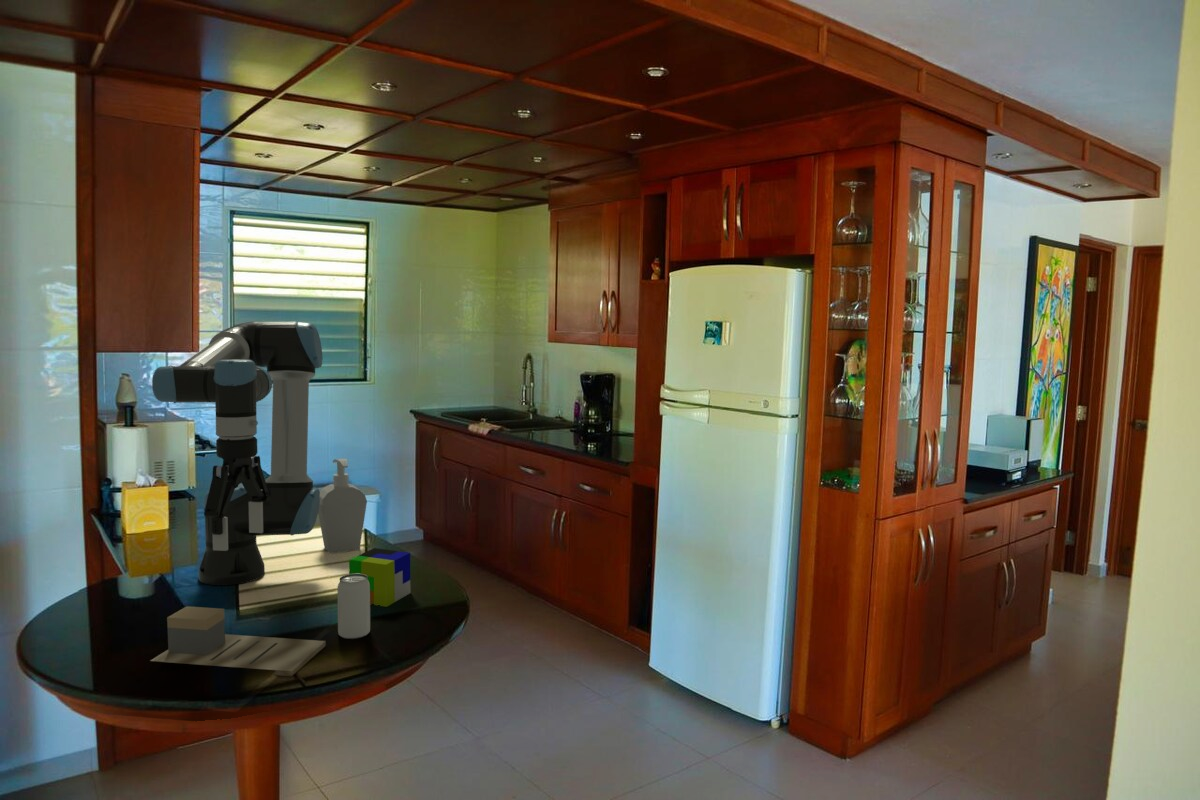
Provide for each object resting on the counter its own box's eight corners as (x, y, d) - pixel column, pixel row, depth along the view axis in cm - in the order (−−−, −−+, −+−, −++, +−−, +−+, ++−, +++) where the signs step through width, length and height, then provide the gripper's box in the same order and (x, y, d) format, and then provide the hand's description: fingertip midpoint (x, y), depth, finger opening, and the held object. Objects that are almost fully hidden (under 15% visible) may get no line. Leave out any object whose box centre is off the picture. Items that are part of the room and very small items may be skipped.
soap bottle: (323, 556, 222) (322, 463, 220) (316, 547, 231) (314, 457, 228) (369, 551, 228) (368, 460, 226) (360, 542, 237) (359, 454, 234)
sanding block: (168, 652, 157) (167, 617, 156) (187, 640, 163) (186, 606, 162) (207, 655, 156) (206, 620, 155) (225, 642, 162) (224, 608, 161)
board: (150, 665, 153) (149, 660, 153) (195, 636, 167) (195, 632, 167) (291, 676, 150) (291, 671, 150) (325, 645, 164) (325, 641, 163)
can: (342, 627, 173) (341, 573, 172) (373, 627, 174) (372, 572, 172) (334, 639, 167) (333, 583, 165) (366, 639, 167) (366, 582, 166)
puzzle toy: (410, 593, 195) (410, 552, 194) (386, 607, 186) (386, 564, 185) (374, 587, 199) (374, 548, 198) (349, 601, 189) (349, 559, 188)
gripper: (220, 446, 150) (223, 559, 152) (284, 429, 174) (286, 526, 176) (181, 445, 150) (184, 557, 152) (250, 428, 175) (252, 525, 177)
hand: (239, 541), depth 164 cm, fingers open, 13 cm apart
